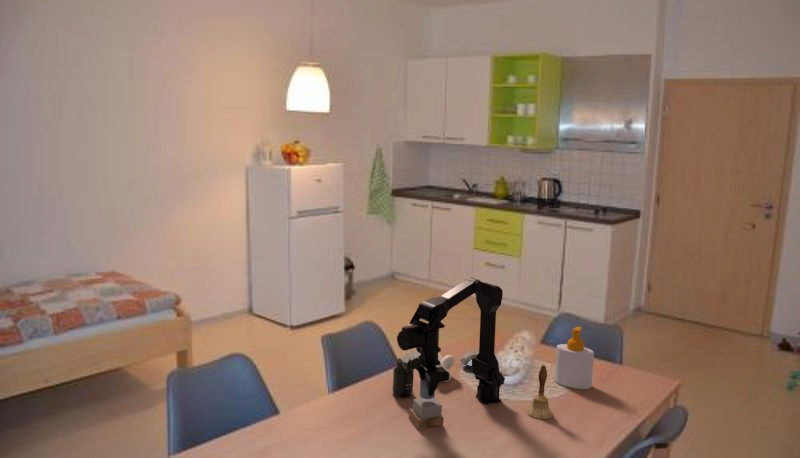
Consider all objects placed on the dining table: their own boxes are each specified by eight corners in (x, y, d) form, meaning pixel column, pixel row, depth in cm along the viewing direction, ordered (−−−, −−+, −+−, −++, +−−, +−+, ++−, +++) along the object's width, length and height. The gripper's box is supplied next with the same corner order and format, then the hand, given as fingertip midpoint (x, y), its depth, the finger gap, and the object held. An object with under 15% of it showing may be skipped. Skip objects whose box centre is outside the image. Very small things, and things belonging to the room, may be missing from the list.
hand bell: (530, 405, 209) (533, 359, 206) (555, 411, 205) (559, 364, 202) (523, 415, 201) (526, 367, 199) (549, 421, 198) (553, 373, 195)
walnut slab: (432, 416, 200) (433, 405, 200) (443, 427, 193) (443, 416, 192) (408, 419, 198) (409, 408, 197) (418, 431, 190) (418, 420, 190)
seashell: (483, 361, 247) (484, 348, 246) (494, 368, 239) (494, 356, 238) (455, 364, 243) (456, 351, 242) (465, 372, 235) (466, 359, 234)
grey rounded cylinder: (431, 391, 197) (431, 378, 196) (436, 397, 193) (437, 383, 192) (417, 393, 195) (418, 379, 195) (423, 399, 191) (423, 385, 190)
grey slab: (432, 406, 199) (432, 396, 198) (441, 415, 193) (441, 405, 192) (413, 410, 196) (413, 399, 196) (421, 419, 190) (422, 408, 190)
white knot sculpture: (416, 382, 225) (417, 358, 223) (425, 370, 236) (425, 347, 234) (447, 387, 221) (448, 362, 220) (455, 374, 233) (456, 351, 231)
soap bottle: (594, 384, 227) (599, 329, 224) (587, 392, 220) (592, 336, 217) (558, 376, 234) (562, 322, 231) (550, 383, 227) (554, 328, 224)
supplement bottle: (410, 399, 211) (411, 364, 209) (390, 397, 212) (391, 362, 210) (414, 391, 218) (415, 357, 215) (395, 388, 219) (395, 355, 217)
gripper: (393, 335, 197) (392, 383, 200) (415, 357, 180) (413, 409, 182) (426, 332, 201) (425, 379, 204) (451, 353, 184) (449, 404, 186)
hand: (427, 392), depth 194 cm, fingers closed on grey rounded cylinder, 4 cm apart
